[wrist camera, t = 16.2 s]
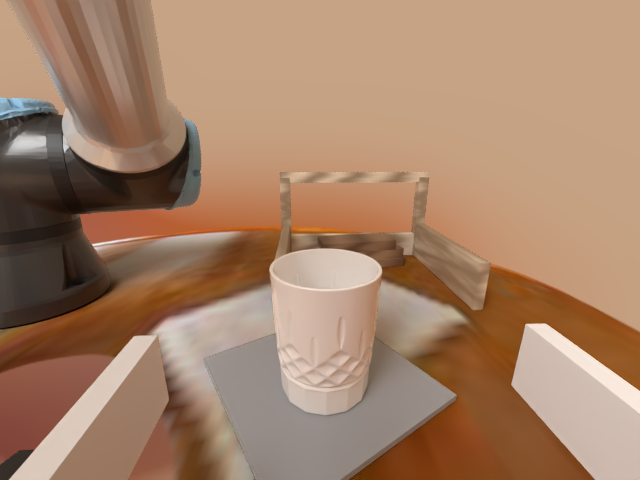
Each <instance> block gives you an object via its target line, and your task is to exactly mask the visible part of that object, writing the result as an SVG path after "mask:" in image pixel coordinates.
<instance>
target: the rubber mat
mask: <svg viewBox="0 0 640 480" xmlns="http://www.w3.org/2000/svg"><path fill="white" fill-rule="evenodd" d="M204 363H205V366H206V368H207V370H208V372H209V375H210V377H211V379H212V381H213V384H214V386H215V388H216V391H217V393H218V395H219V397H220V400H221V402H222V404H223V406H224V409H225V411H226V413H227V415H228V418H229V420H230V422H231V424H232V427H233V429H234V431H235V434H236V436H237V438H238V440H239V443H240V445H241V447H242V449H243V452H244V454H245V456H246V458H247V461H248V463H249V465H250V467H251V470H252V472H253V474H254V477H255V479H256V480H349V479H350V478H352V477H353V476H354V475H356V474H357V473H358V472H360V471H361V470H362V469H364V468H365V467H367V466H368V465H369V464H371V463H372V462H373V461H375V460H376V459H377V458H379V457H380V456H381V455H383V454H384V453H385V452H387V451H388V450H390V449H391V448H392V447H394V446H395V445H396V444H398V443H399V442H400V441H402V440H403V439H404V438H406V437H407V436H408V435H410V434H411V433H413V432H414V431H415V430H417V429H418V428H419V427H421V426H422V425H423V424H425V423H426V422H427V421H429V420H430V419H431V418H433V417H434V416H436V415H437V414H438V413H440V412H441V411H442V410H444V409H445V408H446V407H448V406H449V405H450V404H452V403H453V402H455V401H456V398H457V395H456V394H455V393H453V392H452V391H450V390H449V389H448V388H446V387H445V386H443V385H442V384H441V383H439V382H438V381H436V380H435V379H433V378H432V377H431V376H429V375H428V374H426V373H425V372H424V371H422V370H421V369H419V368H418V367H416V366H415V365H414V364H412V363H411V362H409V361H408V360H407V359H405V358H404V357H402V356H401V355H399V354H398V353H397V352H395V351H394V350H392V349H391V348H390V347H388V346H387V345H385V344H384V343H383V342H381V341H380V340H378V339H377V338H375V337H374V342H373V351H372V357H371V362H370V365H369V374H368V384H367V388H366V390H365V393H364V395H363V398H362V400H361V401H360V402H359V403H357V404H356V405H355V406H353V407H352V408H351V409H349V410H348V411H346V412H342V413H337V414H332V415H327V416H325V415H319V414H313V413H308V412H305V411H303V410H302V409H300V408H298V407H297V406H295V405H294V404H292V403H291V402H290V401H289V399H288V397H287V395H286V394H285V392H284V390H283V388H282V379H281V367H280V360H279V356H278V351H277V339H276V333H275V334H272V335H269V336H266V337H263V338H260V339H257V340H255V341H252V342H249V343H246V344H243V345H240V346H237V347H235V348H232V349H229V350H226V351H223V352H220V353H218V354H215V355H212V356H209V357H206V358H204Z"/></svg>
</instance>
